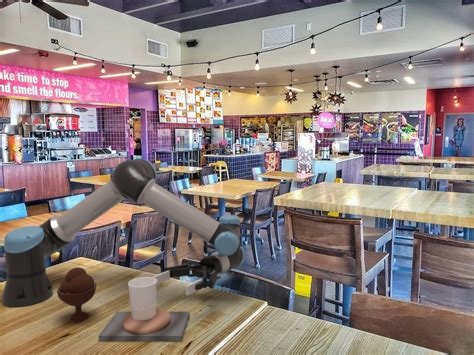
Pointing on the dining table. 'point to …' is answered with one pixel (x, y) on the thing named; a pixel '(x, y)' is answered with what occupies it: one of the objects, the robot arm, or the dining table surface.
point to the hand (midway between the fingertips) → (169, 285)
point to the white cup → (143, 297)
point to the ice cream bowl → (77, 291)
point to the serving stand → (146, 327)
